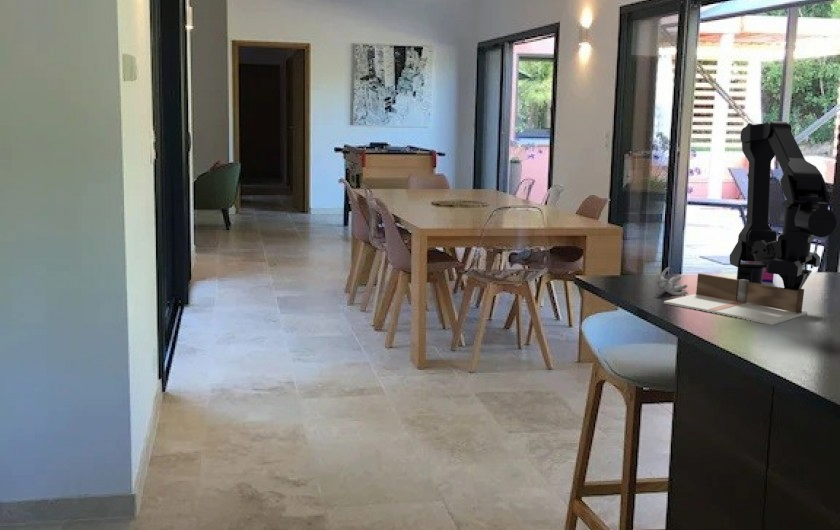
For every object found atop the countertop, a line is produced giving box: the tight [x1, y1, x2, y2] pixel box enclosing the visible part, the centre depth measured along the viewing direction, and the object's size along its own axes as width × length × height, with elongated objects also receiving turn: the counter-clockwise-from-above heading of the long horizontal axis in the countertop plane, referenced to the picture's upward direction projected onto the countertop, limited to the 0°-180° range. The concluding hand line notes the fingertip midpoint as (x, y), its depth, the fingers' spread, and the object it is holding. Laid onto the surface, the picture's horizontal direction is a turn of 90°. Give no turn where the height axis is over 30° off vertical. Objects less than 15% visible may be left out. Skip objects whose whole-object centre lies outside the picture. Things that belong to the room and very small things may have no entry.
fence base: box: [695, 272, 749, 303], centre depth 196 cm, size 2×12×5 cm, turn 45°
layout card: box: [663, 293, 808, 326], centre depth 188 cm, size 17×24×1 cm
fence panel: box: [746, 282, 805, 313], centre depth 187 cm, size 12×1×5 cm, turn 40°
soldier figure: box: [655, 266, 689, 296], centre depth 203 cm, size 8×5×12 cm
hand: (789, 302), depth 187 cm, fingers closed
